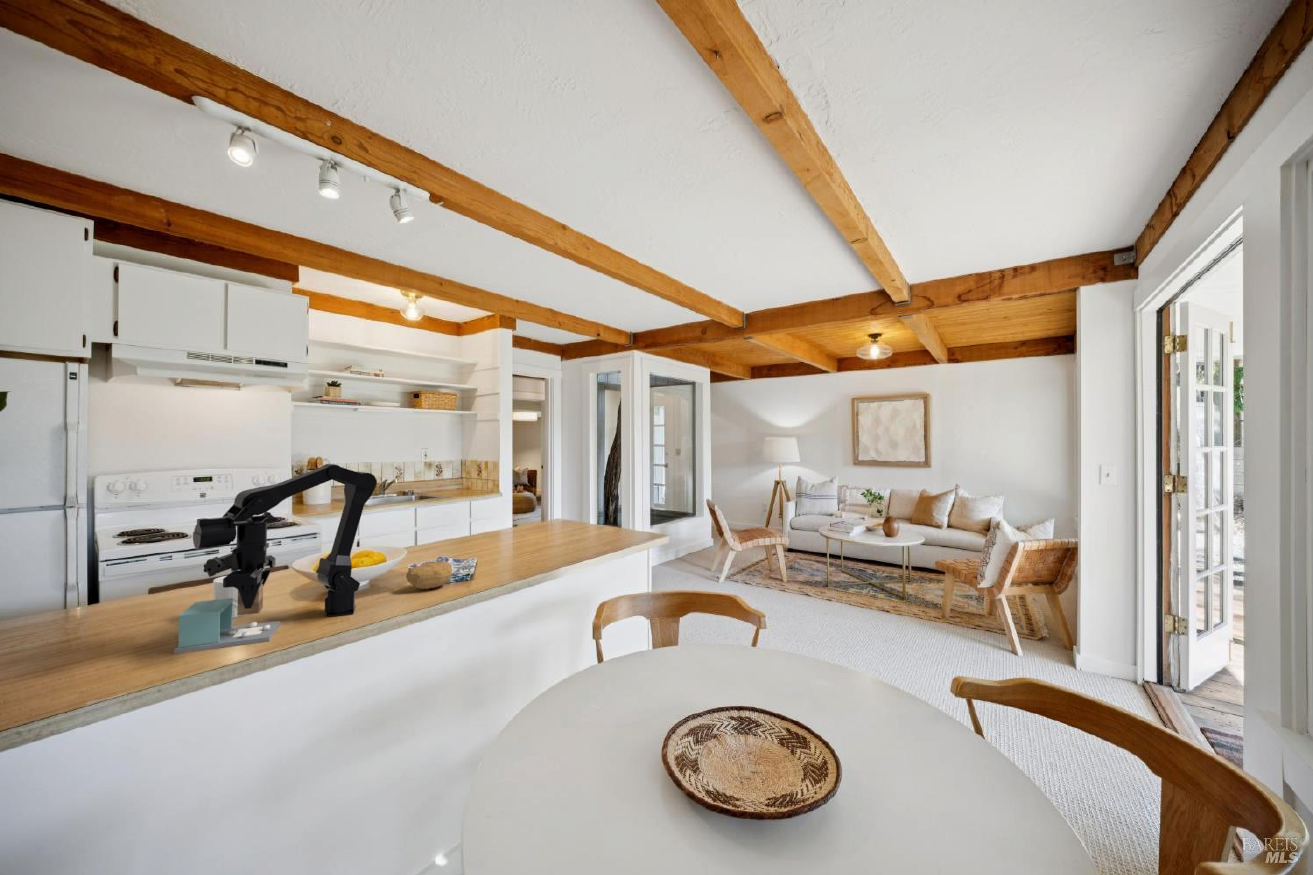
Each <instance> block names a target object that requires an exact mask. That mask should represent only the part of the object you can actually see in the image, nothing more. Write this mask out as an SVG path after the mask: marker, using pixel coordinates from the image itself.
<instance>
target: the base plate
mask: <svg viewBox="0 0 1313 875" xmlns="http://www.w3.org/2000/svg"><path fill="white" fill-rule="evenodd" d="M280 625H281V622H280V620H278V621H269V622H261V623H258V622H256V621H253V622H250V623H249V624H246V625H236V626H235V625H234V626H232V628H227V629H220V640H219V642H217V643H210V644H202V645H194V646H187V647H179V648H178V645H177V646H176V647H175V648H174V650H173V654H174V655H175V654H177V655H178V654H184V653H192V652H199V651H204V650H205V651H206V650H214V649H223V648H228V647H230V648H231V647H236V646H243V645H244V646H245V645H252V644H257V643H258V644H259V643H265V642H270V641H271V639H272V638H273V637H274V635H275V633H276V631H277V630H278V629H279V627H280Z"/></svg>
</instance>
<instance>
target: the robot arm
mask: <svg viewBox="0 0 1313 875" xmlns="http://www.w3.org/2000/svg"><path fill="white" fill-rule="evenodd" d="M330 481H334V482H336V483H340V484H342V485H344V487H343V494H344V499H345V502H344V506H343V510H342V514H341V516H340V520H339V523H338V528H337V530H336V533H335V538H334V542H333V545H332V546H331V547H332V548H331V550H330V553H329V554H328V555H327V557H325V558H323V557H320V558H319V563H318V566H317V569H316V570H315V573H316V574H317V576H316V577H317V580H318V581H319V583H321V584H323V586H324V588H325V589H326V590H328V591H327V595H326V596H325V598H324V613H325V618H328V617H337V616H344V615H353V614H354V613H355V610H356V607H357V606H356V604H355V603H356V600H355V599H356V598H355V597H356V592H358V590H359V588H360V585H361V583H360V582H359V581H358V580H356V579H355V578H354V577H352V568H353V564H352V559H351V554H352V550H353V545H354V542H355V538H356V535H357V532H358V528H359V524H360V522H361V521H360V520H361V517H362V515H363V511H364V507H365V505H366V503H367V502H368V501H369V500H370V498H371V497H372V496H373V494H374V491H375V490H376V487H377V485H378V479H377V478H376V476H375V475H374V474H372V473H370V472H366V471H365V472H364V471H354V470H352V469H347V468H345V467H342V466H340V465H339V464H332V463H326V464H323V465H322V466H320V467H317V468H315V469H313V470H310V471H307V472H305V473H301V474H299V475H296V476H294V477H291V478H289V479H285V480H284V481H281V482H278V483H276V484H272V485H271V484H270V485H264V486H259V487H254V488H249V489H245V490H242V491H240V492H239V493H237V495H236V496H235V498H234V501H233V504H232V505H231V507H230V508H229V509H227V511H226V512H225V513H224V514H223V515H222V517H212V518H211V517H210V518H206V517H203V518H197V519H196V525H195V526H194V530H193V532H192V541H193V543H192V544H193V546H194V548H195V549H196V550H200V549H209V548H215V547H216V548H217V547H223V546H229V545H230V544H231V542H235V540H236V547H235V548H233V549H232V550H231V553H228V554H225V555H223V556H219V557H218V556H215V557H213V558H208V559H207V560H206V562H205V563H204V564H203V572H204V573H206V574H207V576H208V577H209V578H210V577H211V578H212V577H213V576H216V575H217V574H220V573H223V572H226V571H228V570H230V573H229V574H228V575H225V576H226V577H225V578H224V579H223V587H224V588H227V587H234V588H236V589H238V591H239V593H240V596H241V598H242V601H243V604H244V607H245V609H248V608H251V607H252V604H253V602H254V600H255V598H256V595H257V593H258V591H259V589H260V586H261V584H263V588H264V586H265V584H266V583H267V581H268V578H269V576H270V574H271V573H272V570H271V569H273V568H275V566H276V559H277V558H276V557H274V556H273V555H267V549H268V548H269V547H270V542H268V541H267V540H268V538H267V537H268V523H273V522H274V523H275V522H277V521H278V518H277V517H275V516H274V515H273V514H272V513H271V512H269V511H270V510H271V509H273V508H275V507H277V506H278V505H279V504H280V503H281V502H283V501H285V500H286V499H288V498H290V497H293V496H295V495H298V494H300V493H302V492H305V491H307V490H309V489H312V488H314V487H317V486H320V485H322V484H325V483H327V482H330ZM265 567H269V568H270V569H269V570H265Z"/></svg>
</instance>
